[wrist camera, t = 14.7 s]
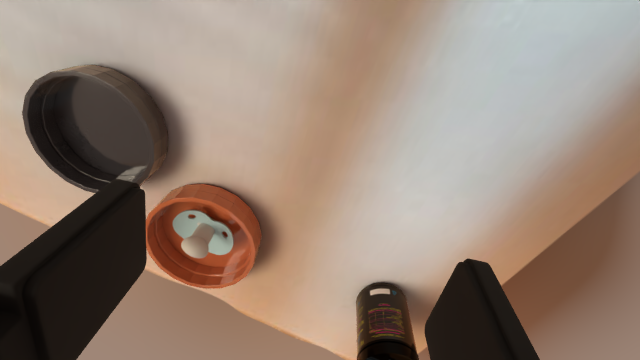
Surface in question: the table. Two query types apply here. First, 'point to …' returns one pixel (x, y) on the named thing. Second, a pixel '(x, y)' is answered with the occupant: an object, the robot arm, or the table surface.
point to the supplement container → (384, 324)
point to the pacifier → (202, 234)
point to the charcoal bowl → (94, 126)
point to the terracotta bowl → (212, 267)
